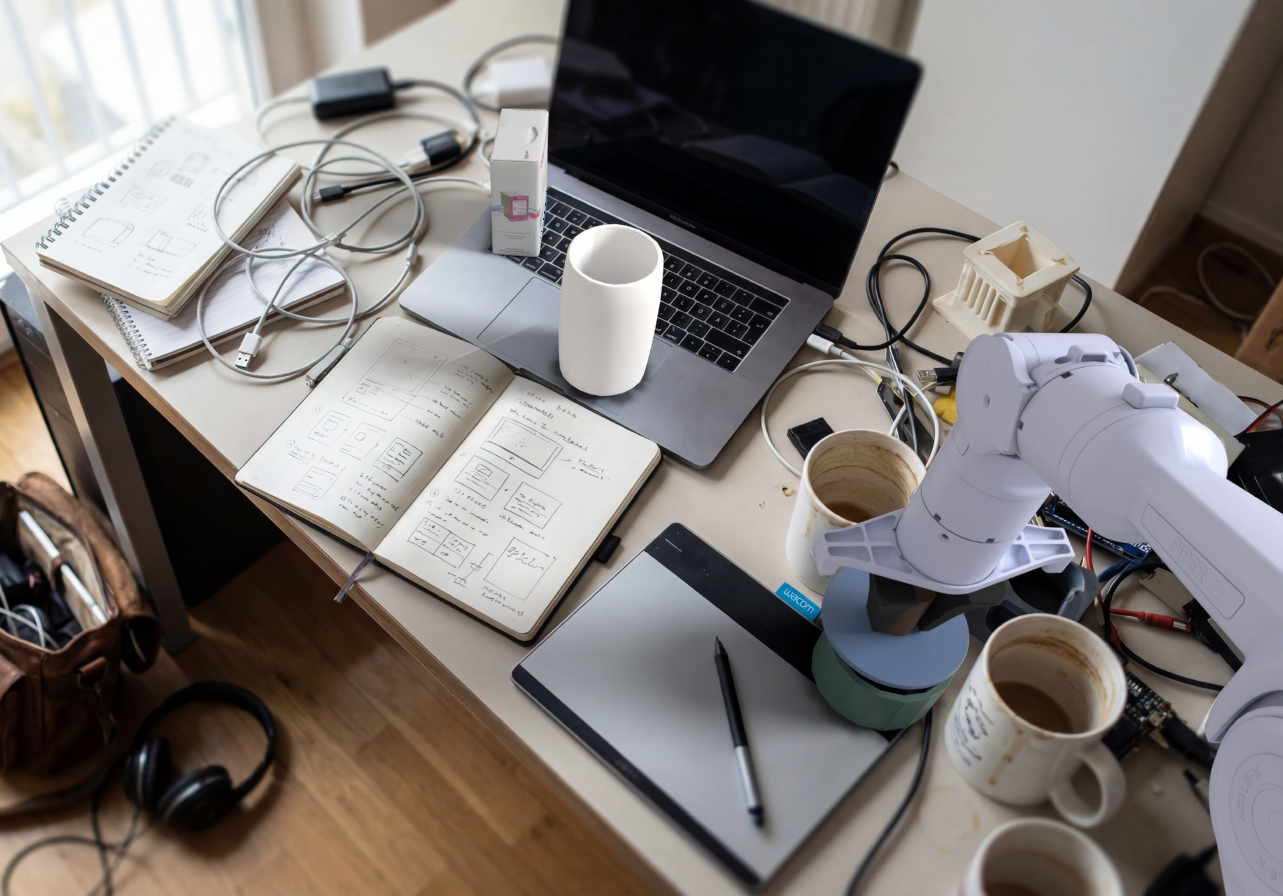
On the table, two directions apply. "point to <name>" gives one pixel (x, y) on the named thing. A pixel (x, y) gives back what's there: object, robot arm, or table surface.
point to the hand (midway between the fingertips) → (897, 618)
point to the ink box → (519, 181)
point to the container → (867, 693)
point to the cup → (608, 308)
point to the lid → (891, 637)
